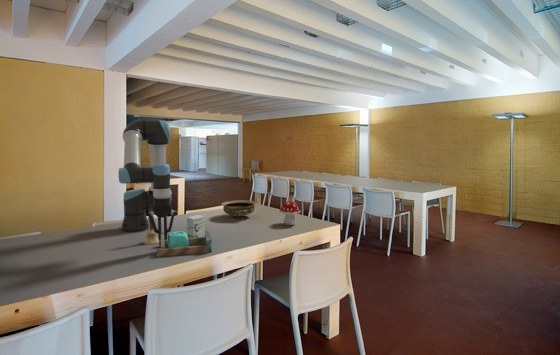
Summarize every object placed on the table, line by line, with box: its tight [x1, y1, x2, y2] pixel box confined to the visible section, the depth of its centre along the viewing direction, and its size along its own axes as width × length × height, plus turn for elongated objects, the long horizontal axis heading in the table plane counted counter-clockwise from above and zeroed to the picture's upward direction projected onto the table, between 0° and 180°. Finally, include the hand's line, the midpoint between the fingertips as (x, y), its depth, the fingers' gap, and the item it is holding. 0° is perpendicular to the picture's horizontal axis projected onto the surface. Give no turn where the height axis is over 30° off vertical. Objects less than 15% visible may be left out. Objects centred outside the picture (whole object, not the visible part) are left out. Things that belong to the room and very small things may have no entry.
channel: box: [156, 230, 213, 258], centre depth 154 cm, size 24×16×6 cm, turn 107°
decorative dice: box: [167, 230, 189, 248], centre depth 153 cm, size 8×8×8 cm
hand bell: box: [143, 215, 159, 246], centre depth 164 cm, size 8×8×16 cm
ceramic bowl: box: [221, 199, 257, 219], centre depth 224 cm, size 30×24×10 cm
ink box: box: [186, 214, 206, 238], centre depth 173 cm, size 9×5×12 cm, turn 148°
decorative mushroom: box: [278, 200, 302, 226], centre depth 205 cm, size 14×14×15 cm
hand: (163, 246), depth 151 cm, fingers closed
